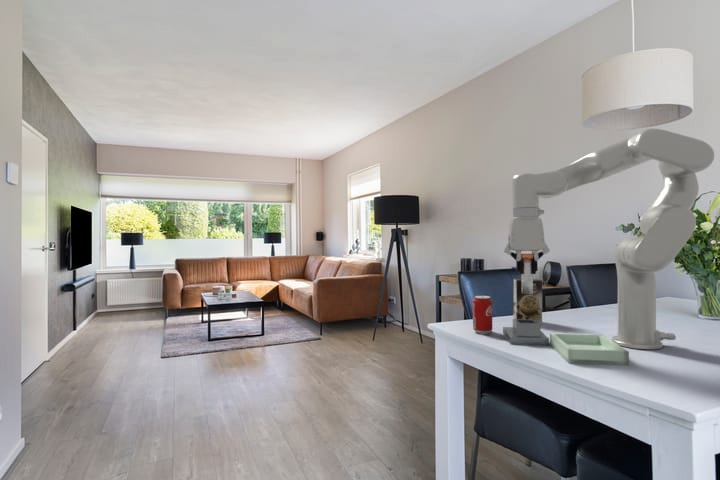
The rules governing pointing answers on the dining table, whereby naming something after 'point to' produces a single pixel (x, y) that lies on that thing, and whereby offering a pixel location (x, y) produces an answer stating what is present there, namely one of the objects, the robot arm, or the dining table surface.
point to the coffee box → (528, 301)
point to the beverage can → (482, 314)
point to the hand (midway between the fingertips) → (526, 273)
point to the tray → (589, 349)
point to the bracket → (525, 332)
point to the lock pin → (527, 273)
